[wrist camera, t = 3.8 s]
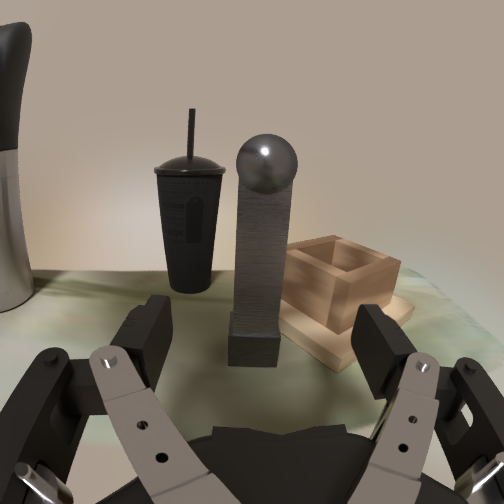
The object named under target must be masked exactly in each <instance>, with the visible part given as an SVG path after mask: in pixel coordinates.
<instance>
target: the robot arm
mask: <svg viewBox="0 0 504 504" xmlns="http://www.w3.org/2000/svg"><path fill="white" fill-rule="evenodd" d="M31 44H32V34H31V29H30V27H29V25H28V24H27V23H25V22H17V23H12V24H7V25H3V26H0V312H2V311H6V310H9V309H11V308H14V307H16V306H18V305H20V304H21V303H23V302H24V301H26V300H27V299H28V298H29V297H30V296H31V295H32V294H33V292H34V290H35V285H34V281H33V277H32V272H31V268H30V263H29V258H28V252H27V247H26V241H25V235H24V228H23V221H22V212H21V203H20V191H19V175H18V150H17V148H18V131H19V121H20V108H21V100H22V93H23V87H24V82H25V77H26V72H27V68H28V63H29V58H30V52H31ZM172 336H173V324H172V314H171V302H170V297H169V296H161V295H151V296H150V298H149V299H148V301H147V303H146V304H145V306H143V305H138V306H137V307H136V308H134V309H133V310H131V311H130V313H129V314H128V316H127V317H126V320H124V322H123V324H122V326H121V327H120V329H119V330H118V332H117V333H116V335H115V337H114V338H113V340H112V342H111V343H110V345H109V346H104V347H101V348H98V349H97V350H95V351H94V352H93V353H92V354H91V356H90V358H89V359H72V360H70V359H69V356H68V354H67V352H66V351H65V350H64V349H61V348H57V347H53V348H48V349H45V350H43V351H42V352H40V353H39V354H38V355H37V356H36V358H35V359H34V361H33V362H32V363H31V365H30V366H29V368H28V369H27V371H26V372H25V374H24V375H23V377H22V378H21V380H20V381H19V383H18V385H17V386H16V388H15V389H14V391H13V392H12V394H11V396H10V397H9V399H8V401H7V402H6V404H5V406H4V407H3V409H2V411H1V412H0V504H73V496H72V493H71V491H70V490H69V488H68V487H67V486H66V481H67V478H68V474H69V472H70V469H71V465H72V462H73V459H74V457H75V454H76V451H77V447H78V445H79V442H80V439H81V437H82V434H83V431H84V428H85V426H86V423H87V420H88V418H89V415H109V418H110V420H111V422H112V425H113V427H114V429H115V431H116V434H117V436H118V438H119V440H120V442H121V444H122V446H123V448H124V450H125V452H126V454H127V456H128V458H129V460H130V462H131V464H132V466H133V467H134V470H135V471H136V473H137V475H138V476H137V477H136V478H135V479H134V480H132V481H130V482H129V483H127V484H126V485H124V486H123V487H121V488H120V489H118V490H117V491H115V492H113V493H112V494H110V495H109V496H107V497H106V498H104V499H103V500H101V501H99V502H97V503H96V504H504V397H503V396H502V394H501V393H500V391H499V390H498V388H497V387H496V386H495V384H494V383H493V381H492V380H491V378H490V377H489V376H488V374H487V373H486V371H485V370H484V369H483V367H482V366H481V365H480V364H479V363H478V362H477V361H475V360H473V359H471V358H466V357H463V358H460V359H458V360H457V362H456V364H455V366H454V368H451V367H441V366H439V363H438V361H437V360H436V359H435V358H434V357H432V356H431V355H429V354H426V353H421V352H417V350H416V349H415V347H414V346H413V344H412V343H411V342H410V340H409V339H408V337H407V336H406V335H405V333H404V332H403V330H402V329H401V328H400V326H399V325H398V323H397V322H396V321H395V320H394V319H392V318H391V317H390V316H388V315H385V314H384V312H383V311H382V310H381V308H380V307H379V305H378V304H361V305H360V306H359V308H358V311H357V315H356V318H355V322H354V326H353V329H352V333H351V346H352V349H353V351H354V353H355V355H356V358H357V360H358V362H359V364H360V367H361V369H362V371H363V373H364V376H365V378H366V380H367V383H368V385H369V387H370V390H371V392H372V394H373V397H374V399H375V400H377V399H384V398H386V400H387V402H386V404H385V406H384V408H383V410H382V412H381V415H380V417H379V419H378V421H377V423H376V426H375V428H374V430H373V432H372V434H371V436H370V438H366V437H364V436H360V435H357V434H352V433H347V431H346V427H345V424H340V425H331V426H319V427H312V428H308V429H305V430H301V431H297V432H293V433H289V434H285V435H277V434H272V433H267V432H262V431H257V430H253V429H248V428H231V427H215V426H213V431H212V435H210V436H204V437H200V438H196V439H193V440H190V441H188V442H186V441H185V439H184V438H183V437H182V435H181V434H180V432H179V431H178V430H177V428H176V427H175V425H174V424H173V422H172V421H171V419H170V418H169V416H168V415H167V413H166V412H165V410H164V409H163V407H162V406H161V404H160V402H159V401H158V399H157V398H156V396H155V394H154V392H155V389H156V386H157V383H158V380H159V377H160V374H161V371H162V368H163V365H164V362H165V359H166V356H167V353H168V350H169V347H170V344H171V341H172ZM465 404H467V405H468V407H469V409H470V411H471V412H472V414H473V423H472V426H471V427H469V425H468V423H467V421H466V419H465V417H464V415H463V414H462V412H461V409H462V408H463V406H464V405H465ZM433 430H435V432H436V434H437V437H438V439H439V441H440V444H441V446H442V448H443V451H444V453H445V456H446V458H447V461H448V463H449V466H450V468H451V471H452V473H453V476H454V479H455V482H456V483H455V486H454V491H453V490H451V489H450V488H448V487H446V486H444V485H443V484H441V483H439V482H438V481H436V480H434V479H432V478H431V477H429V476H428V475H426V474H424V473H422V469H423V466H424V463H425V460H426V456H427V453H428V449H429V445H430V442H431V438H432V434H433Z"/></svg>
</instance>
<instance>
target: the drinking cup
mask: <svg viewBox="0 0 504 504" xmlns="http://www.w3.org/2000/svg"><path fill="white" fill-rule="evenodd" d="M194 128H195V109H189V121H188V141H187V142H188V143H187V156H183V157H178V158H174V159H171V160H169V161H167V162H165V163H163V164H162V165H161V166H159V167H156V168H154V173H156V174H157V185H158V196H159V206H160V216H161V224H162V232H163V240H164V248H165V255H166V262H167V269H168V275H169V281H170V286H171V288H172V289H173V290H175V291H177V292H180V293H187V294H192V293H199V292H202V291H204V290H206V289H207V288H208V287H209V286H210V279H211V269H212V259H213V250H214V240H215V232H216V224H217V215H218V207H219V198H220V191H221V183H222V176H223V174H224V173H225V171H226V169H225V168H224V167H221V166H219V165H218V164H217V163H215V162H213V161H211V160H209V159H206V158H202V157H197V156H193V149H194Z"/></svg>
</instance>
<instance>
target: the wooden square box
mask: <svg viewBox="0 0 504 504" xmlns="http://www.w3.org/2000/svg"><path fill="white" fill-rule="evenodd" d="M400 264H401V261H400V260H397V259H395V258H392V257H390V256H387V255H384V254H382V253H380V252H377V251H374V250H372V249H369V248H366V247H364V246H361V245H359V244H356V243H353V242H351V241H348V240H345V239H343V238H340V237H337V236H335V235H332V236H327V237H321V238H316V239H312V240H306V241H301V242H296V243H290V244H287V250H286V259H285V269H284V278H283V287H282V295H281V304H280V312H279V320H278V324H279V330H280V332H281V333H282V334H284V335H285V336H286V337H288V338H289V339H290V340H292V341H293V342H294V343H296V344H297V345H299V346H300V347H301V348H303V349H304V350H305V351H307V352H308V353H310V354H311V355H312V356H314V357H315V358H316V359H318V360H319V361H321V362H322V363H323V364H325V365H326V366H328V367H329V368H330V369H332V370H333V371H335V372H336V373H339V372H340V371H342V370H343V369H344V368H346V367H347V366H349V365H350V364H352V363H353V362H354V361H356V360H357V358H356V355H355V353H354V351H353V349H352V346H351V333H352V329H353V326H354V322H355V318H356V315H357V311H358V308H359V306H360V305H361V304H378V305H379V307H380V308H381V310H382V311H383V312H384V314H385V315H388V316H390V317H391V318H392V319H394V320H395V321H396V322H397V323H398V325H399V326H401V325H402V324H404V323H405V322H406V321H407V320H408V319H410V318H411V317H412V314H413V311H414V308H415V305H413V304H411V303H409V302H407V301H405V300H403V299H401V298H398V297H396V296H394V295H393V291H394V288H395V284H396V280H397V276H398V272H399V268H400Z"/></svg>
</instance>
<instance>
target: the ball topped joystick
mask: <svg viewBox="0 0 504 504" xmlns="http://www.w3.org/2000/svg"><path fill="white" fill-rule="evenodd" d="M297 167H298V161H297V156H296V153H295V151H294V149H293V148H292V146H291V145H290V144H289V143H288V142H287V141H286V140H285V139H283V138H281V137H279V136H277V135H272V134H261V135H257V136H254V137H252V138H251V139H249V140H248V141H247V142H245V143H244V145H243V146H242V147H241V149H240V150H239V153H238V155H237V160H236V168H237V173H238V175H239V185H238V208H237V230H236V254H235V279H234V309H233V312H231V314H230V325H229V336H228V366H243V367H277V361H278V354H279V347H280V340H281V336H280V330H279V324H278V320H279V312H280V304H281V295H282V287H283V278H284V269H285V259H286V250H287V239H288V229H289V219H290V208H291V197H292V184H293V179H294V177H295V175H296V172H297Z"/></svg>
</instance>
